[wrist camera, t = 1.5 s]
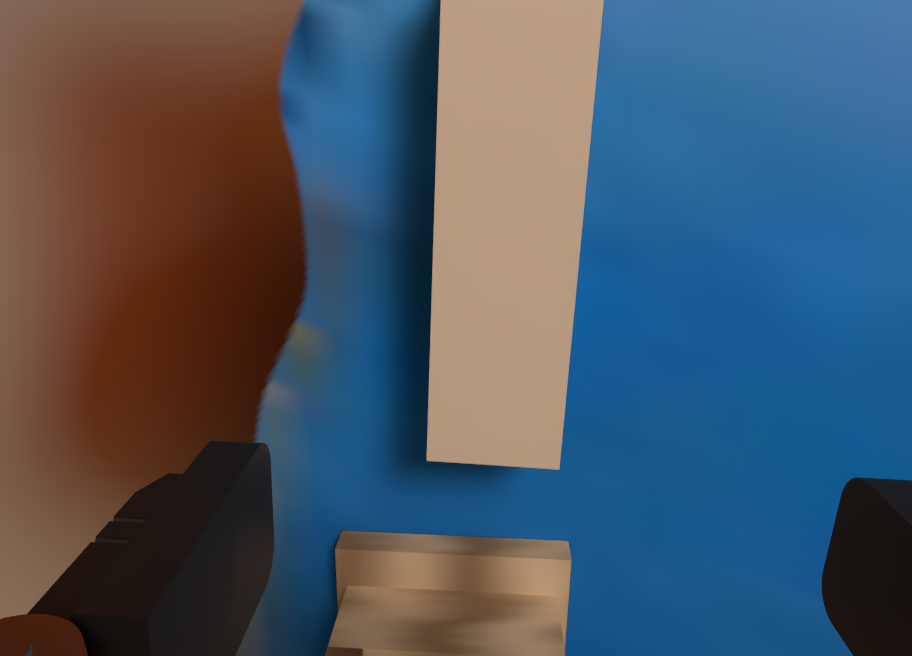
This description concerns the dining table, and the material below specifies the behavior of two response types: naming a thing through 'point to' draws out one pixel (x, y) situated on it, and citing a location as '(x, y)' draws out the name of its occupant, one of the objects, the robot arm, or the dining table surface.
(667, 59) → the dining table surface
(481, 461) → the beige long block
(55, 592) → the robot arm
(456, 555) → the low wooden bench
